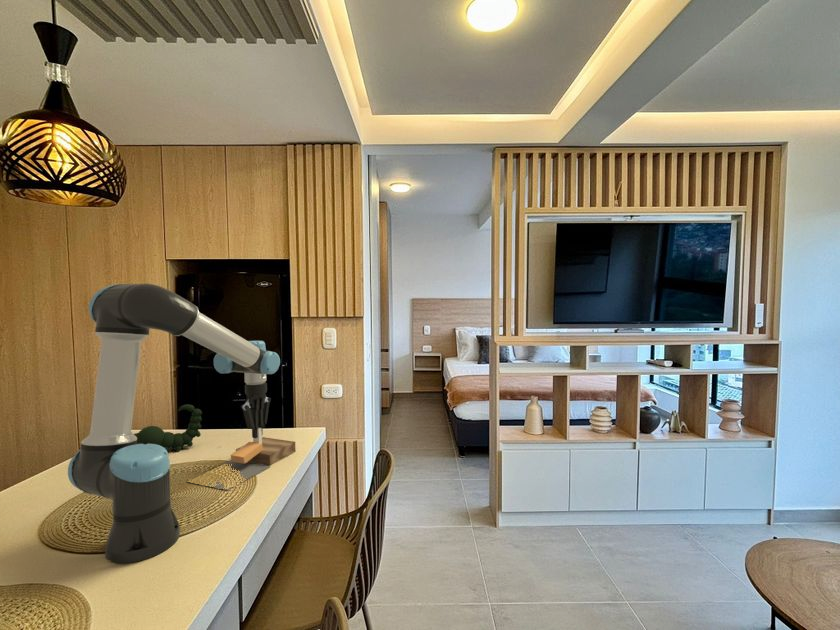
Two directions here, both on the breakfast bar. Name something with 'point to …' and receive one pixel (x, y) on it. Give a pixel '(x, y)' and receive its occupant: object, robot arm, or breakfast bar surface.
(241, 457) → the orange brown block
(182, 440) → the toy figurine
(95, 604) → the breakfast bar surface
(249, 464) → the charcoal mat
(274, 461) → the walnut deck
